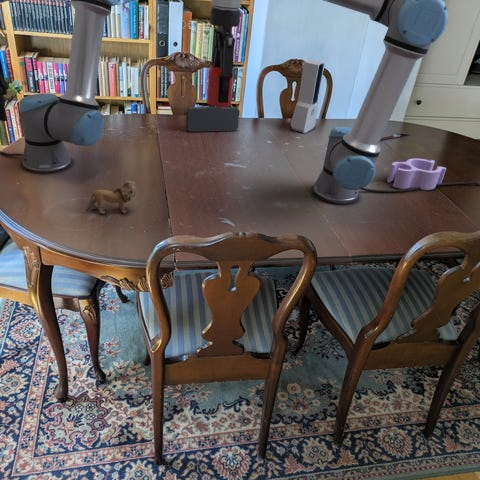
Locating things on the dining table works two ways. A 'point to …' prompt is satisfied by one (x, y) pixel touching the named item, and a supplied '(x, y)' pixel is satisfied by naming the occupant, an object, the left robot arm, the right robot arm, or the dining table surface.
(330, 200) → the right robot arm
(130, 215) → the dining table surface
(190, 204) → the dining table surface
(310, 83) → the electronic device
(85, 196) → the dining table surface
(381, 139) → the sword
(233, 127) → the dark grey rectangular block
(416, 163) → the clip
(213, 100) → the canister
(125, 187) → the lion figurine
